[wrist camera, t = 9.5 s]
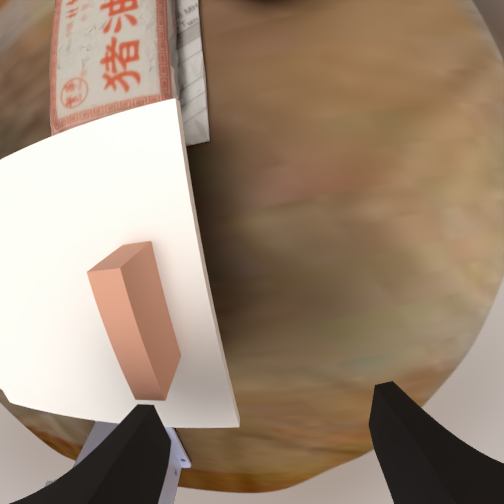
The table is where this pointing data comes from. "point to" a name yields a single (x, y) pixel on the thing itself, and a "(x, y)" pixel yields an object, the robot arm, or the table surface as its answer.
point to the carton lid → (109, 277)
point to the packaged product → (127, 61)
